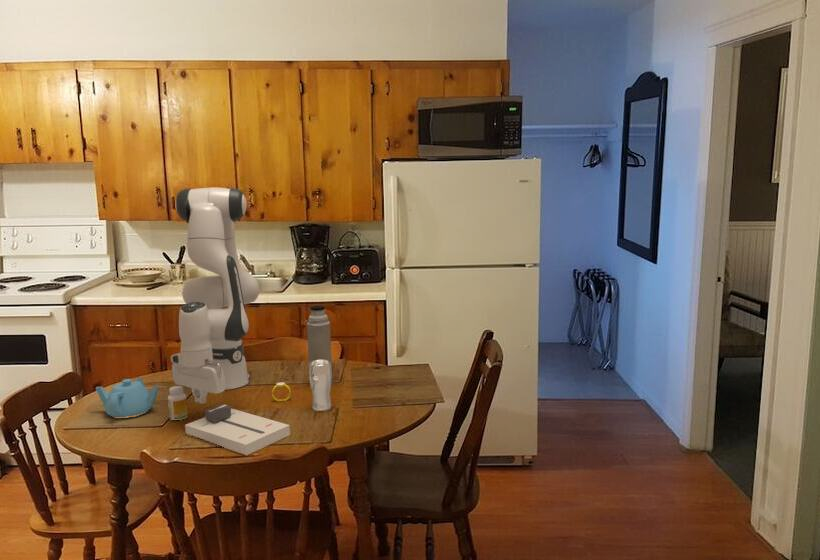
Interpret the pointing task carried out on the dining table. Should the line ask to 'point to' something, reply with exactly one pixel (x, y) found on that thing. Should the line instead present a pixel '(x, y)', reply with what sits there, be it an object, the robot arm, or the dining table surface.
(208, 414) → the fader knob
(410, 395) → the dining table surface
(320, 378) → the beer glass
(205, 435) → the fader console
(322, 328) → the thermos bottle
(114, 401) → the teapot
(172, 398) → the supplement bottle
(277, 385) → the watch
